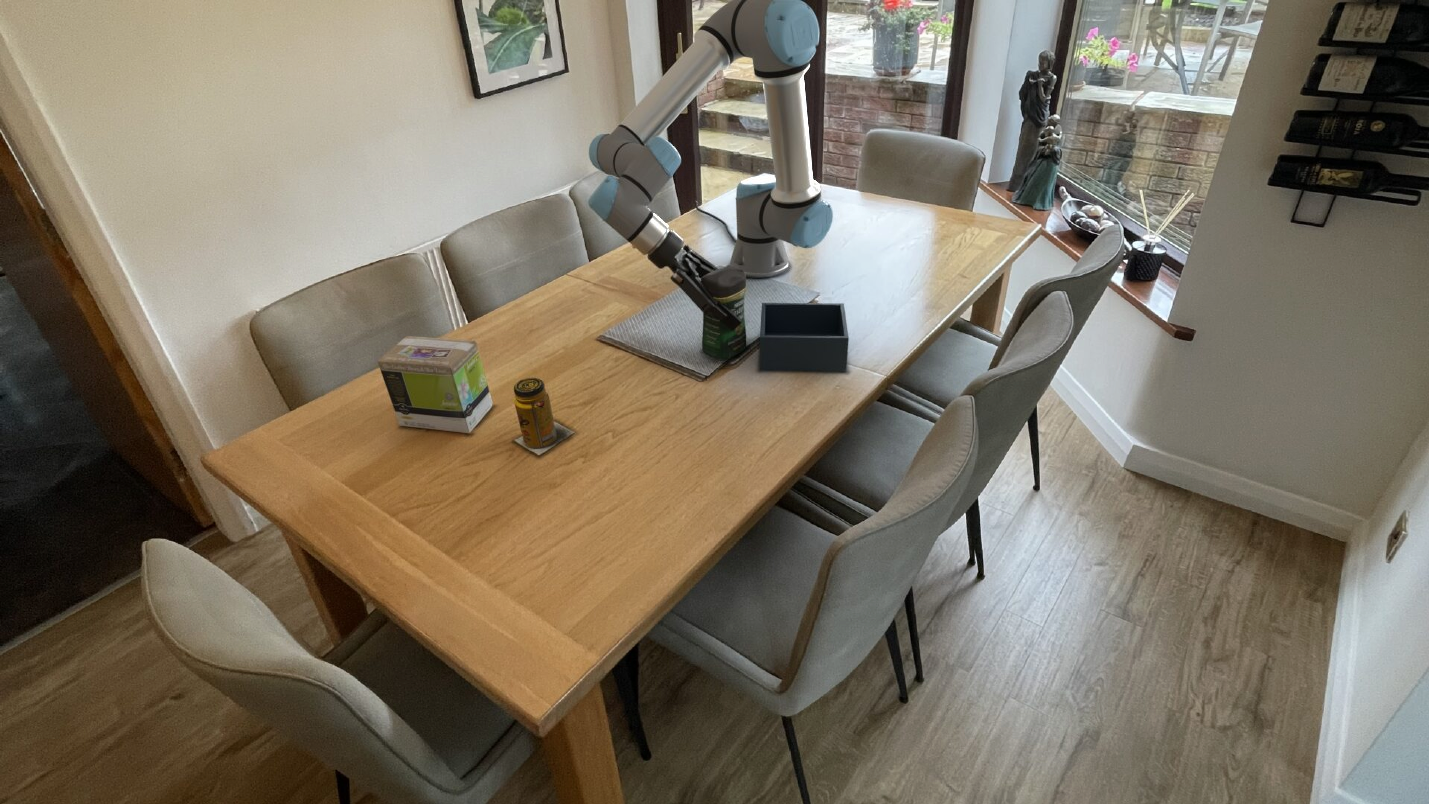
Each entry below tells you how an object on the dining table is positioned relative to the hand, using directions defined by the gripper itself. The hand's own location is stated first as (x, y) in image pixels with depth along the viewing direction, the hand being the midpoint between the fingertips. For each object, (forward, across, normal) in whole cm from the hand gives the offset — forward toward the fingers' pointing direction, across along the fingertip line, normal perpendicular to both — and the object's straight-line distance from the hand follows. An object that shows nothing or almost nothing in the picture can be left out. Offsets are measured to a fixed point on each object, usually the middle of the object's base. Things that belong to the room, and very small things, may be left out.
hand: (738, 314), depth 152 cm
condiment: (-18, +32, -30) cm, 48 cm away
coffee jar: (+4, 0, -9) cm, 10 cm away
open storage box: (+16, 0, +3) cm, 16 cm away
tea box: (-32, +26, -45) cm, 62 cm away
